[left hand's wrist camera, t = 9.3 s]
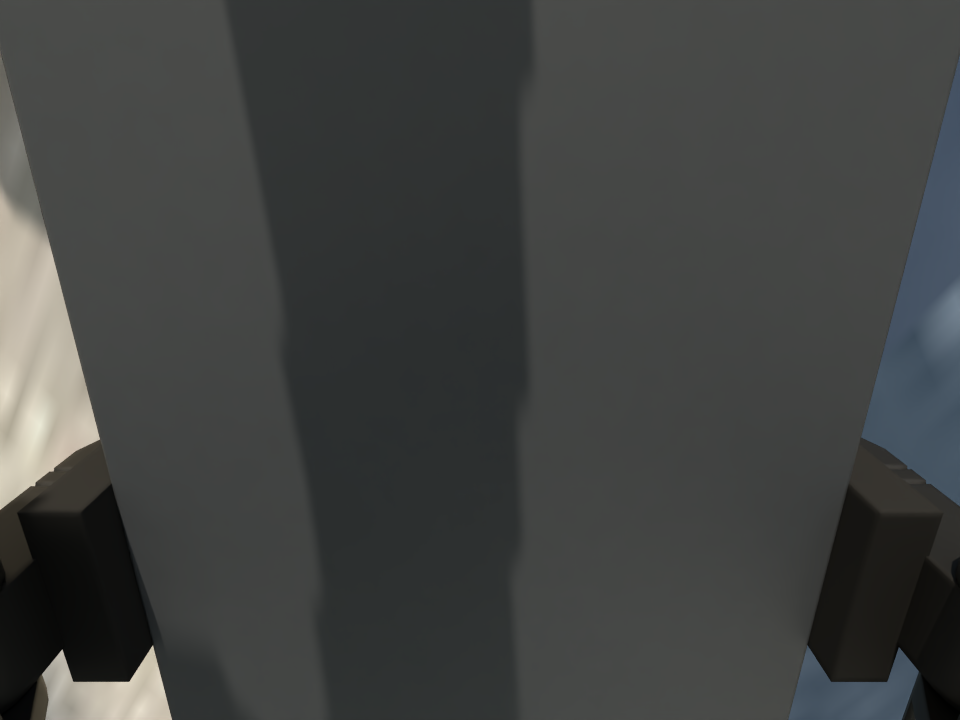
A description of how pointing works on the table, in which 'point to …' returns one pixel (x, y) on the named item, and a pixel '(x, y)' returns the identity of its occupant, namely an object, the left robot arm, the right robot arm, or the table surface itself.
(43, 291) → the table surface
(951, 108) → the table surface
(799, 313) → the thick board
